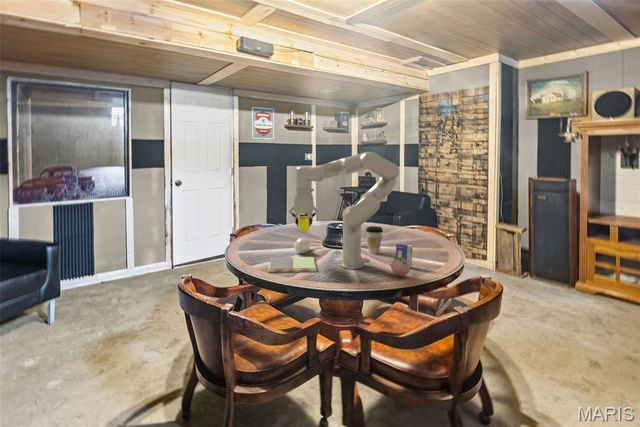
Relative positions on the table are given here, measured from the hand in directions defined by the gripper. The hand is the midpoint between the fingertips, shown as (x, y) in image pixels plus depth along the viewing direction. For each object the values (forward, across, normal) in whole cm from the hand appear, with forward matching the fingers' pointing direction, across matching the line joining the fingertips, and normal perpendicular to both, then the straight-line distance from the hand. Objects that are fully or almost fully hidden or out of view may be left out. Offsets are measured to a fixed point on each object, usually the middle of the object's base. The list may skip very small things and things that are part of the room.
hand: (303, 225), depth 203 cm
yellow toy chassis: (+2, 0, -2) cm, 3 cm away
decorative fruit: (+22, -46, +21) cm, 55 cm away
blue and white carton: (+22, -52, +5) cm, 57 cm away
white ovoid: (+22, 0, -26) cm, 34 cm away
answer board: (+21, +6, 0) cm, 22 cm away
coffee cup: (+22, -42, -23) cm, 53 cm away
